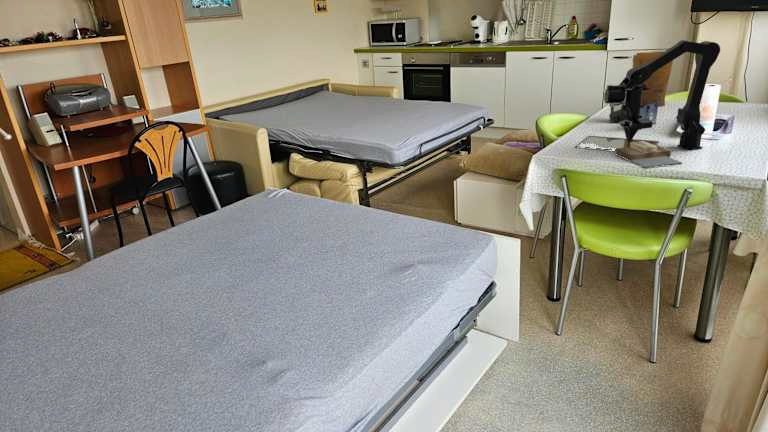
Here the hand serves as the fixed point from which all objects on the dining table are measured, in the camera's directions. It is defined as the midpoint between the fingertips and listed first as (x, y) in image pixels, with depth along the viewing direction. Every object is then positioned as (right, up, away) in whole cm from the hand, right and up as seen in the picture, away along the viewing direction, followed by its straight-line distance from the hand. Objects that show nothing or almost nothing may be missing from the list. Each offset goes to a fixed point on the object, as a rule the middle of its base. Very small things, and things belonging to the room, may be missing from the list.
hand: (628, 141), depth 204 cm
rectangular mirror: (-1, -1, +8) cm, 9 cm away
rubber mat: (+2, -10, -16) cm, 19 cm away
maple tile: (+1, -4, -8) cm, 9 cm away
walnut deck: (+2, -6, -7) cm, 10 cm away
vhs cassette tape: (+21, +11, +31) cm, 40 cm away
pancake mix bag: (+45, +30, +72) cm, 90 cm away
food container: (+16, +16, +46) cm, 51 cm away
